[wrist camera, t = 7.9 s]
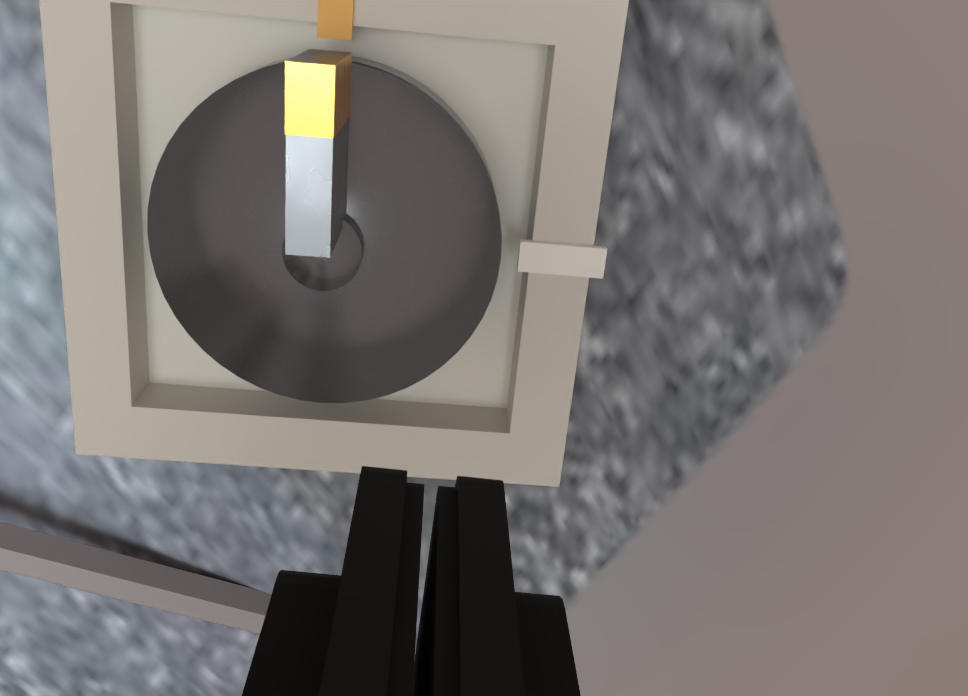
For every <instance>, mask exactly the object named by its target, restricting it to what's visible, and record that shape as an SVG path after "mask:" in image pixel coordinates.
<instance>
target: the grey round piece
mask: <svg viewBox="0 0 968 696" xmlns="http://www.w3.org/2000/svg"><path fill="white" fill-rule="evenodd" d="M147 234H148V242H149V250H150V256H151V260H152V264H153V268H154V271H155V275H156V278H157V280H158V283H159V285H160V288H161V290H162V293H163V295H164V297H165V299H166V301H167V303H168V305H169V306H170V308H171V310H172V312H173V314H174V315H175V317H176V318H177V320H178V321H179V322H180V324H181V325H182V327H183V328H184V329H185V331H186V332H187V333H188V335H189V336H190V337H191V338H192V339H193V340H194V341H195V342H196V343H197V344H198V345H199V346H200V347H201V349H202V350H203V351H204V352H206V353H207V354H208V355H209V356H210V357H212V358H213V359H214V360H215V361H216V362H217V363H219V364H220V365H221V366H223V367H224V368H226V369H227V370H229V371H230V372H232V373H233V374H235V375H236V376H238V377H239V378H241V379H243V380H245V381H247V382H249V383H251V384H253V385H255V386H257V387H259V388H262V389H264V390H267V391H270V392H272V393H275V394H278V395H281V396H285V397H289V398H293V399H298V400H302V401H310V402H319V403H350V402H358V401H366V400H370V399H375V398H379V397H383V396H387V395H390V394H392V393H395V392H398V391H400V390H403V389H406V388H408V387H410V386H412V385H413V384H415V383H417V382H419V381H421V380H423V379H425V378H426V377H428V376H429V375H431V374H432V373H433V372H435V371H436V370H438V369H439V368H441V367H442V366H443V365H444V364H445V363H446V362H448V361H449V360H450V359H451V358H452V357H453V356H454V355H455V354H456V353H457V352H458V351H459V350H460V349H461V348H462V347H463V345H464V344H465V343H466V342H467V341H468V339H469V338H470V337H471V336H472V334H473V333H474V331H475V329H476V328H477V326H478V325H479V323H480V322H481V320H482V318H483V316H484V314H485V312H486V310H487V308H488V305H489V303H490V301H491V299H492V295H493V292H494V289H495V286H496V282H497V279H498V273H499V267H500V261H501V245H502V233H501V223H500V214H499V208H498V203H497V197H496V193H495V189H494V185H493V180H492V176H491V173H490V170H489V168H488V165H487V163H486V160H485V158H484V155H483V153H482V151H481V149H480V147H479V146H478V144H477V142H476V140H475V138H474V137H473V135H472V133H471V132H470V131H469V129H468V128H467V126H466V125H465V124H464V122H463V121H462V120H461V118H460V117H459V116H458V115H457V114H456V113H455V112H454V111H453V110H452V108H451V107H450V106H449V105H448V104H447V103H446V102H445V101H444V100H443V99H441V98H440V97H439V96H438V95H437V94H435V93H434V92H433V91H432V90H430V89H429V88H428V87H427V86H425V85H424V84H422V83H420V82H419V81H417V80H415V79H414V78H412V77H410V76H409V75H407V74H405V73H403V72H401V71H399V70H396V69H394V68H392V67H390V66H387V65H385V64H382V63H378V62H375V61H372V60H368V59H365V58H360V57H353V56H352V52H342V51H330V50H318V49H308V50H306V51H304V52H302V53H300V54H298V55H296V56H294V57H292V58H288V59H284V60H280V61H276V62H273V63H270V64H268V65H266V66H263V67H261V68H259V69H256V70H254V71H252V72H249V73H247V74H245V75H243V76H241V77H239V78H237V79H235V80H233V81H232V82H230V83H228V84H227V85H225V86H223V87H222V88H220V89H218V90H217V91H215V92H214V93H213V94H211V95H210V96H209V97H208V98H206V99H205V100H204V101H203V102H202V103H200V104H199V105H198V106H197V107H196V108H195V109H194V110H193V111H192V112H191V113H190V114H189V115H188V117H187V118H186V119H185V120H184V121H183V122H182V123H181V124H180V126H179V127H178V129H177V130H176V132H175V133H174V135H173V136H172V138H171V139H170V141H169V142H168V144H167V146H166V148H165V150H164V152H163V154H162V156H161V159H160V161H159V163H158V165H157V168H156V172H155V175H154V178H153V181H152V185H151V190H150V196H149V202H148V212H147Z"/></svg>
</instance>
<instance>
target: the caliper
mask: <svg viewBox="0 0 968 696" xmlns="http://www.w3.org/2000/svg"><path fill="white" fill-rule="evenodd" d="M0 570H3V571H7V572H11V573H15V574H19V575H23V576H27V577H31V578H35V579H39V580H43V581H48V582H52V583H56V584H60V585H64V586H68V587H72V588H76V589H80V590H84V591H88V592H92V593H96V594H100V595H104V596H108V597H112V598H116V599H120V600H124V601H128V602H132V603H136V604H140V605H144V606H148V607H152V608H156V609H160V610H164V611H168V612H172V613H176V614H180V615H184V616H188V617H192V618H197V619H201V620H205V621H209V622H213V623H217V624H221V625H225V626H229V627H233V628H237V629H241V630H246V631H250V632H254V633H258V634H260V633H261V629H262V626H263V622H264V619H265V616H266V612H267V609H268V605H269V602H270V599H271V595H269V594H266V593H264V592H261V591H259V590H256V589H252V588H249V587H245V586H241V585H237V584H233V583H229V582H226V581H222V580H218V579H214V578H210V577H207V576H203V575H199V574H195V573H191V572H187V571H184V570H180V569H176V568H172V567H168V566H164V565H161V564H157V563H153V562H149V561H145V560H141V559H138V558H134V557H130V556H126V555H123V554H119V553H115V552H111V551H108V550H104V549H100V548H96V547H93V546H89V545H85V544H82V543H78V542H74V541H70V540H67V539H63V538H59V537H55V536H52V535H48V534H44V533H40V532H37V531H33V530H29V529H26V528H22V527H18V526H14V525H11V524H7V523H3V522H0Z"/></svg>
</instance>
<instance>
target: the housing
mask: <svg viewBox="0 0 968 696" xmlns="http://www.w3.org/2000/svg"><path fill="white" fill-rule="evenodd" d="M628 3H629V0H40V13H41V25H42V38H43V50H44V63H45V75H46V88H47V100H48V113H49V126H50V138H51V151H52V163H53V176H54V188H55V201H56V213H57V226H58V238H59V251H60V263H61V276H62V289H63V301H64V314H65V326H66V339H67V351H68V364H69V376H70V389H71V401H72V414H73V426H74V439H75V451H76V454H79V455H94V456H109V457H124V458H139V459H154V460H168V461H183V462H198V463H213V464H228V465H243V466H258V467H272V468H287V469H302V470H317V471H332V472H347V473H361V468H362V466H368V467H378V468H388V469H398V470H407V477H421V478H436V479H451V480H456V479H457V476H466V477H475V478H485V479H495V480H502V481H503V483H510V484H525V485H540V486H555V487H559V485H560V478H561V471H562V464H563V457H564V450H565V443H566V436H567V429H568V422H569V415H570V408H571V401H572V394H573V387H574V380H575V373H576V366H577V359H578V352H579V345H580V338H581V331H582V324H583V317H584V310H585V303H586V296H587V289H588V282H589V278H601V279H603V275H604V268H605V262H606V255H607V247H606V246H595V245H594V240H595V233H596V226H597V219H598V212H599V205H600V198H601V191H602V184H603V177H604V170H605V163H606V156H607V149H608V142H609V135H610V128H611V121H612V114H613V107H614V100H615V94H616V87H617V80H618V73H619V66H620V59H621V52H622V45H623V38H624V31H625V24H626V17H627V10H628ZM308 49H318V50H330V51H342V52H352V56H353V57H360V58H365V59H368V60H372V61H375V62H378V63H382V64H385V65H387V66H390V67H392V68H394V69H396V70H399V71H401V72H403V73H405V74H407V75H409V76H410V77H412V78H414V79H415V80H417V81H419V82H420V83H422V84H424V85H425V86H427V87H428V88H429V89H430V90H432V91H433V92H434V93H435V94H437V95H438V96H439V97H440V98H441V99H443V100H444V101H445V102H446V103H447V104H448V105H449V106H450V107H451V108H452V110H453V111H454V112H455V113H456V114H457V115H458V116H459V117H460V118H461V120H462V121H463V122H464V124H465V125H466V126H467V128H468V129H469V131H470V132H471V133H472V135H473V137H474V138H475V140H476V142H477V144H478V146H479V147H480V149H481V151H482V153H483V155H484V158H485V160H486V163H487V165H488V168H489V170H490V173H491V176H492V180H493V185H494V189H495V193H496V197H497V203H498V208H499V214H500V223H501V233H502V245H501V261H500V267H499V273H498V279H497V282H496V286H495V289H494V292H493V295H492V299H491V301H490V303H489V305H488V308H487V310H486V312H485V314H484V316H483V318H482V320H481V322H480V323H479V325H478V326H477V328H476V329H475V331H474V333H473V334H472V336H471V337H470V338H469V339H468V341H467V342H466V343H465V344H464V345H463V347H462V348H461V349H460V350H459V351H458V352H457V353H456V354H455V355H454V356H453V357H452V358H451V359H450V360H449V361H448V362H446V363H445V364H444V365H443V366H442V367H441V368H439V369H438V370H436V371H435V372H433V373H432V374H431V375H429V376H428V377H426V378H425V379H423V380H421V381H419V382H417V383H415V384H413V385H412V386H410V387H408V388H406V389H403V390H400V391H398V392H395V393H392V394H390V395H387V396H383V397H379V398H375V399H370V400H366V401H358V402H350V403H319V402H310V401H302V400H298V399H293V398H289V397H285V396H281V395H278V394H275V393H272V392H270V391H267V390H264V389H262V388H259V387H257V386H255V385H253V384H251V383H249V382H247V381H245V380H243V379H241V378H239V377H238V376H236V375H235V374H233V373H232V372H230V371H229V370H227V369H226V368H224V367H223V366H221V365H220V364H219V363H217V362H216V361H215V360H214V359H213V358H212V357H210V356H209V355H208V354H207V353H206V352H204V351H203V350H202V349H201V347H200V346H199V345H198V344H197V343H196V342H195V341H194V340H193V339H192V338H191V337H190V336H189V335H188V333H187V332H186V331H185V329H184V328H183V327H182V325H181V324H180V322H179V321H178V320H177V318H176V317H175V315H174V314H173V312H172V310H171V308H170V306H169V305H168V303H167V301H166V299H165V297H164V295H163V293H162V290H161V288H160V285H159V283H158V280H157V278H156V275H155V271H154V268H153V264H152V260H151V256H150V250H149V242H148V234H147V212H148V202H149V196H150V190H151V185H152V181H153V178H154V175H155V172H156V168H157V165H158V163H159V161H160V159H161V156H162V154H163V152H164V150H165V148H166V146H167V144H168V142H169V141H170V139H171V138H172V136H173V135H174V133H175V132H176V130H177V129H178V127H179V126H180V124H181V123H182V122H183V121H184V120H185V119H186V118H187V117H188V115H189V114H190V113H191V112H192V111H193V110H194V109H195V108H196V107H197V106H198V105H199V104H200V103H202V102H203V101H204V100H205V99H206V98H208V97H209V96H210V95H211V94H213V93H214V92H215V91H217V90H218V89H220V88H222V87H223V86H225V85H227V84H228V83H230V82H232V81H233V80H235V79H237V78H239V77H241V76H243V75H245V74H247V73H249V72H252V71H254V70H256V69H259V68H261V67H263V66H266V65H268V64H270V63H273V62H276V61H280V60H284V59H288V58H292V57H294V56H296V55H298V54H300V53H302V52H304V51H306V50H308Z"/></svg>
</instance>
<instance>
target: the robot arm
mask: <svg viewBox="0 0 968 696" xmlns="http://www.w3.org/2000/svg"><path fill="white" fill-rule="evenodd" d="M406 481H407V470H398V469H388V468H378V467H368V466H362V468H361V473H360V479H359V484H358V489H357V495H356V500H355V505H354V511H353V516H352V521H351V527H350V532H349V537H348V543H347V548H346V553H345V559H344V564H343V569H342V575H341V576H339V575H328V574H317V573H307V572H296V571H285V570H281V571H280V572H279V573H278V576H277V579H276V582H275V585H274V588H273V592H272V595H271V599H270V602H269V605H268V609H267V612H266V616H265V619H264V622H263V626H262V629H261V633H260V636H259V639H258V643H257V646H256V650H255V653H254V656H253V660H252V663H251V666H250V670H249V673H248V677H247V680H246V683H245V687H244V690H243V694H242V696H580V690H579V685H578V679H577V674H576V668H575V662H574V657H573V651H572V646H571V640H570V635H569V629H568V623H567V618H566V612H565V607H564V603H563V600H562V598H561V597H560V596H553V595H542V594H531V593H521V592H515V590H514V580H513V570H512V560H511V551H510V541H509V531H508V521H507V511H506V502H505V492H504V483H503V481H502V480H495V479H485V478H475V477H466V476H457V479H456V484H455V488H454V487H445V486H438V491H437V497H436V505H435V512H434V520H433V527H432V535H431V542H430V550H429V557H428V564H427V572H426V579H425V587H424V594H423V602H422V609H421V617H420V624H419V632H418V639H417V647H416V654H415V640H416V622H417V604H418V587H419V569H420V551H421V533H422V515H423V498H424V484H415V483H406ZM414 658H415V662H414Z"/></svg>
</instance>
